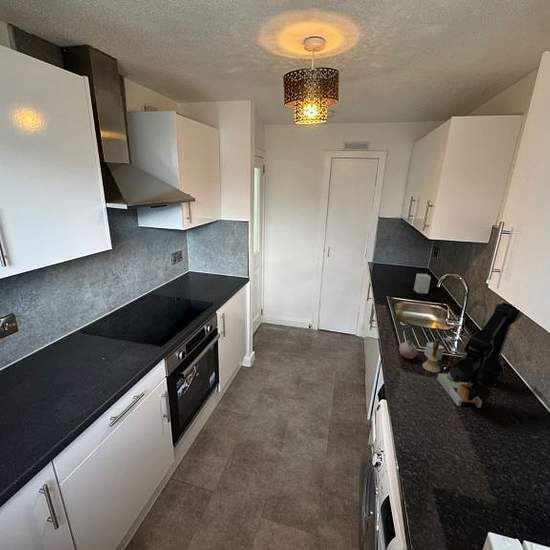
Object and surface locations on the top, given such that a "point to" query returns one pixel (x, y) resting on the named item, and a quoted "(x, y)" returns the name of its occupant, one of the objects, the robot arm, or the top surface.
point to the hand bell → (432, 359)
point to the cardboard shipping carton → (464, 391)
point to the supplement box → (422, 283)
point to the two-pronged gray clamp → (454, 389)
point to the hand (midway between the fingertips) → (465, 396)
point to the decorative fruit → (408, 350)
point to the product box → (430, 350)
